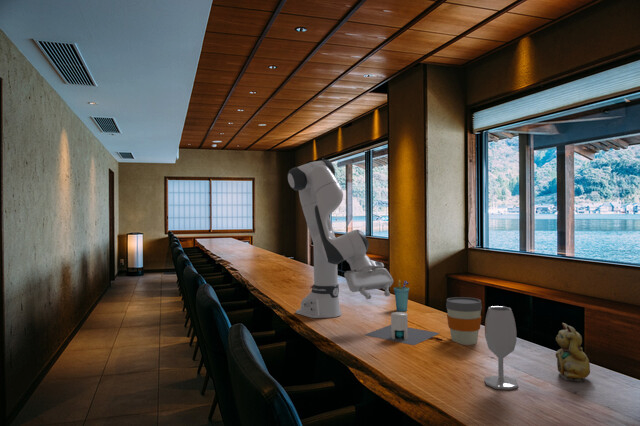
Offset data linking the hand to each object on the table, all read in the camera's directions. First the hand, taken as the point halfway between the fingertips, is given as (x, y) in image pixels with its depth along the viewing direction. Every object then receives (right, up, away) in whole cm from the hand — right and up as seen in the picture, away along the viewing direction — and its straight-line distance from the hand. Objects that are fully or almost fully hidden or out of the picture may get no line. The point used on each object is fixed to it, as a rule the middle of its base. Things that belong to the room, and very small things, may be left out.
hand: (378, 296), depth 179 cm
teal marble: (+7, -12, -8) cm, 16 cm away
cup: (+16, -14, +39) cm, 45 cm away
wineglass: (+27, -14, -54) cm, 62 cm away
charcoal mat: (+9, -14, -3) cm, 17 cm away
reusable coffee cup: (+30, -14, -12) cm, 35 cm away
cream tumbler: (+7, -14, -8) cm, 17 cm away
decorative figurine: (+49, -14, -49) cm, 71 cm away
